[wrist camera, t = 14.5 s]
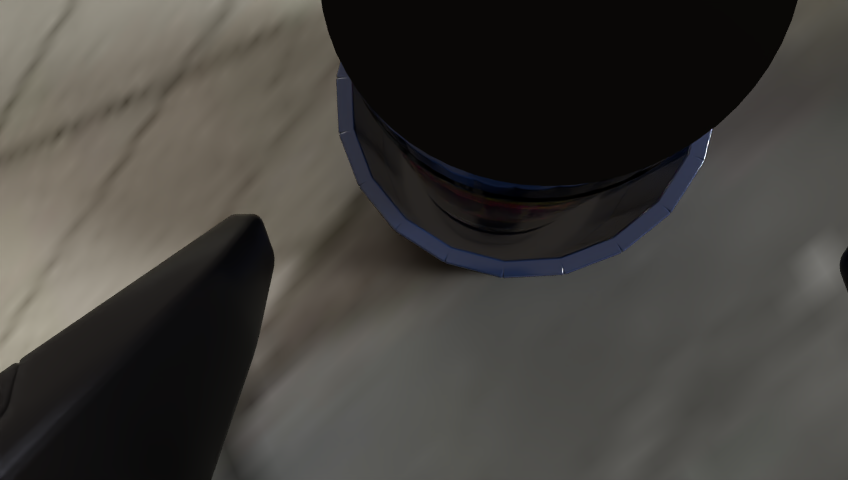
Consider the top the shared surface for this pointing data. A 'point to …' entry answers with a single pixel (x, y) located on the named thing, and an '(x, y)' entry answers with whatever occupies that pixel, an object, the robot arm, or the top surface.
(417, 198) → the blue rimmed bowl
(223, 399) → the robot arm
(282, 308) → the top surface
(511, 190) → the supplement container
